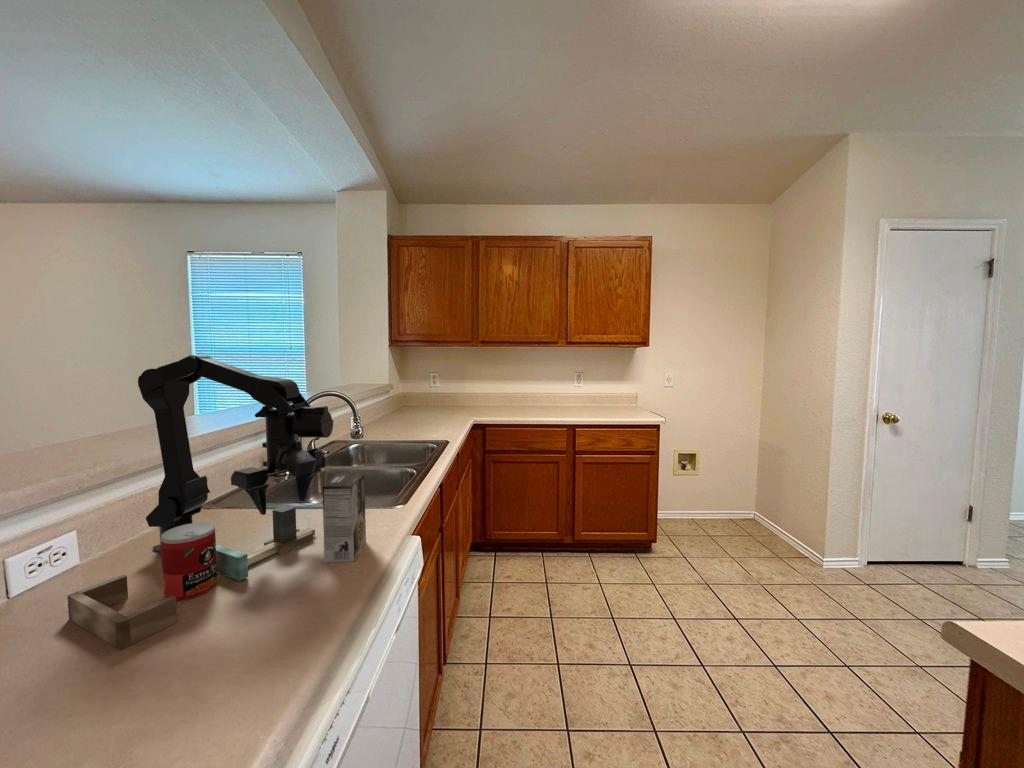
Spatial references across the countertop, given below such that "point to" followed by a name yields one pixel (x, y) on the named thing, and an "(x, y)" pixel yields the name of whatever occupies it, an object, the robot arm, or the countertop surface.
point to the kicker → (283, 532)
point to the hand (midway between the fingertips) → (283, 507)
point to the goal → (111, 625)
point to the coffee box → (344, 517)
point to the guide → (292, 543)
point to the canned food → (189, 560)
